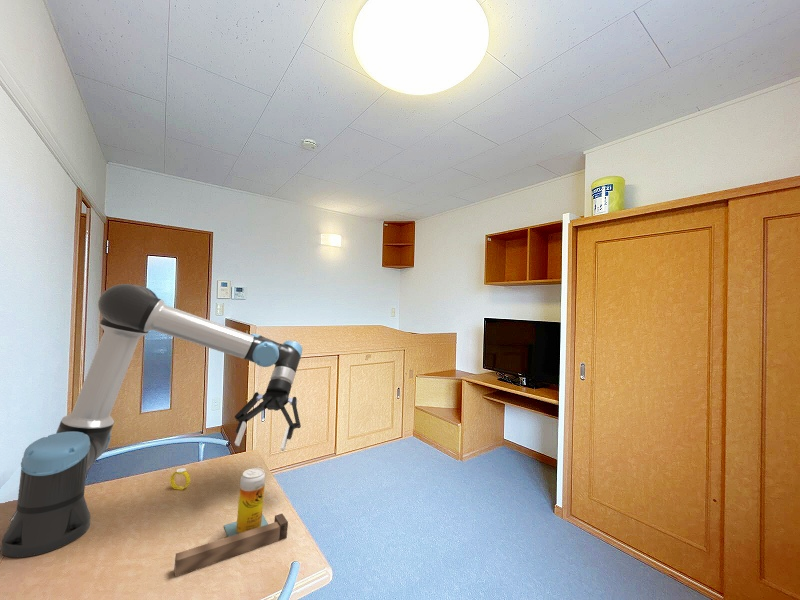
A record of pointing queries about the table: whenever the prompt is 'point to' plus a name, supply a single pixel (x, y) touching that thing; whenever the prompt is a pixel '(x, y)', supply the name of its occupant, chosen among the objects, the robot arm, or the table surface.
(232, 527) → the pad
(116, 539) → the table surface
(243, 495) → the orange soda can
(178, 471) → the watch
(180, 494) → the table surface
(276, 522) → the brown l-shaped hook tool
